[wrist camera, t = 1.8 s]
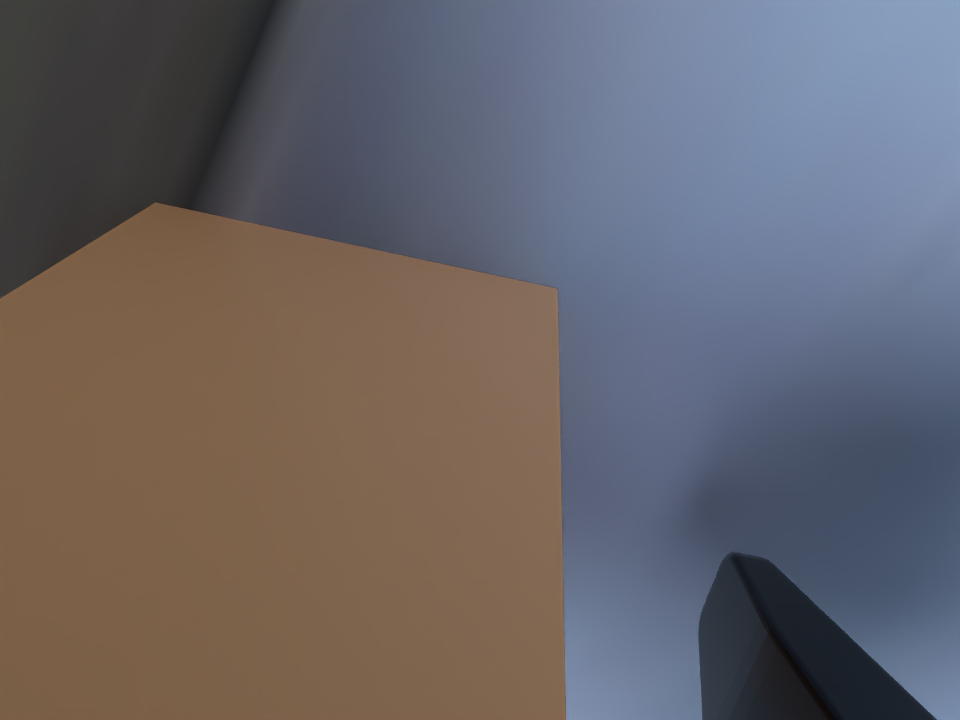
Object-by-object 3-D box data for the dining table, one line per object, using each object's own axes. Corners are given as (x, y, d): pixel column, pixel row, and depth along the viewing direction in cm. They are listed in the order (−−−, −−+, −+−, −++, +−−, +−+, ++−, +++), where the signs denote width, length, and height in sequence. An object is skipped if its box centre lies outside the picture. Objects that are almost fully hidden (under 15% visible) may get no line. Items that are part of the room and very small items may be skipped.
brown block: (558, 287, 9) (568, 965, 3) (479, 598, 11) (386, 1401, 5) (156, 202, 9) (-679, 717, 3) (145, 528, 11) (-369, 1256, 5)
